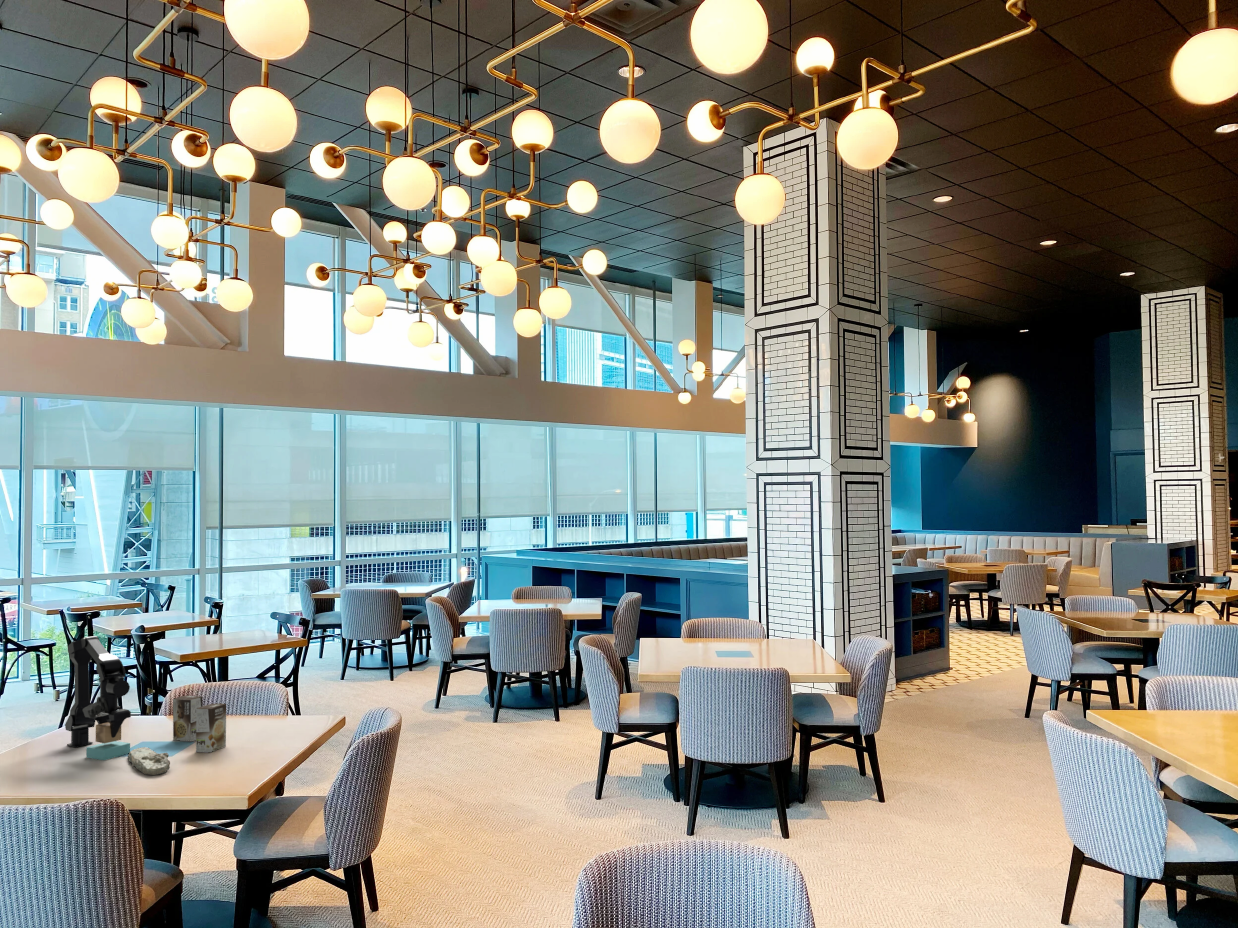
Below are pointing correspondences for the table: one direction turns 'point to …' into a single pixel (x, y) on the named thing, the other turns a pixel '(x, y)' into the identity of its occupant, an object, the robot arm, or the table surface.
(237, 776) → the table surface
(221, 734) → the coffee box
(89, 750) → the teal plinth
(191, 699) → the coffee box
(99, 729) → the walnut block
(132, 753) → the long grey stone
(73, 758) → the table surface
